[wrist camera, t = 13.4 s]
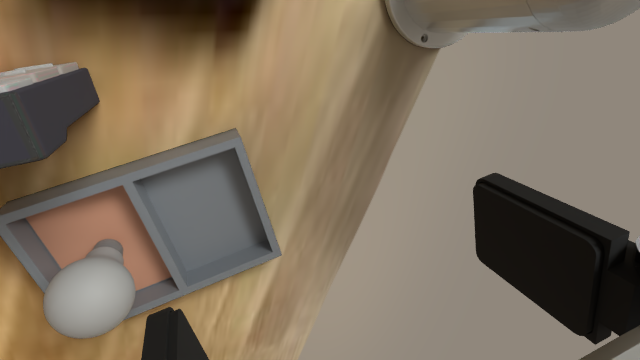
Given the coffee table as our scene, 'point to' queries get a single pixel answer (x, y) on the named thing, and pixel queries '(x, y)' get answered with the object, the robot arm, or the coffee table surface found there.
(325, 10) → the coffee table surface
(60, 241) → the sorting tray
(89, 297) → the lightbulb
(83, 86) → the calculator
